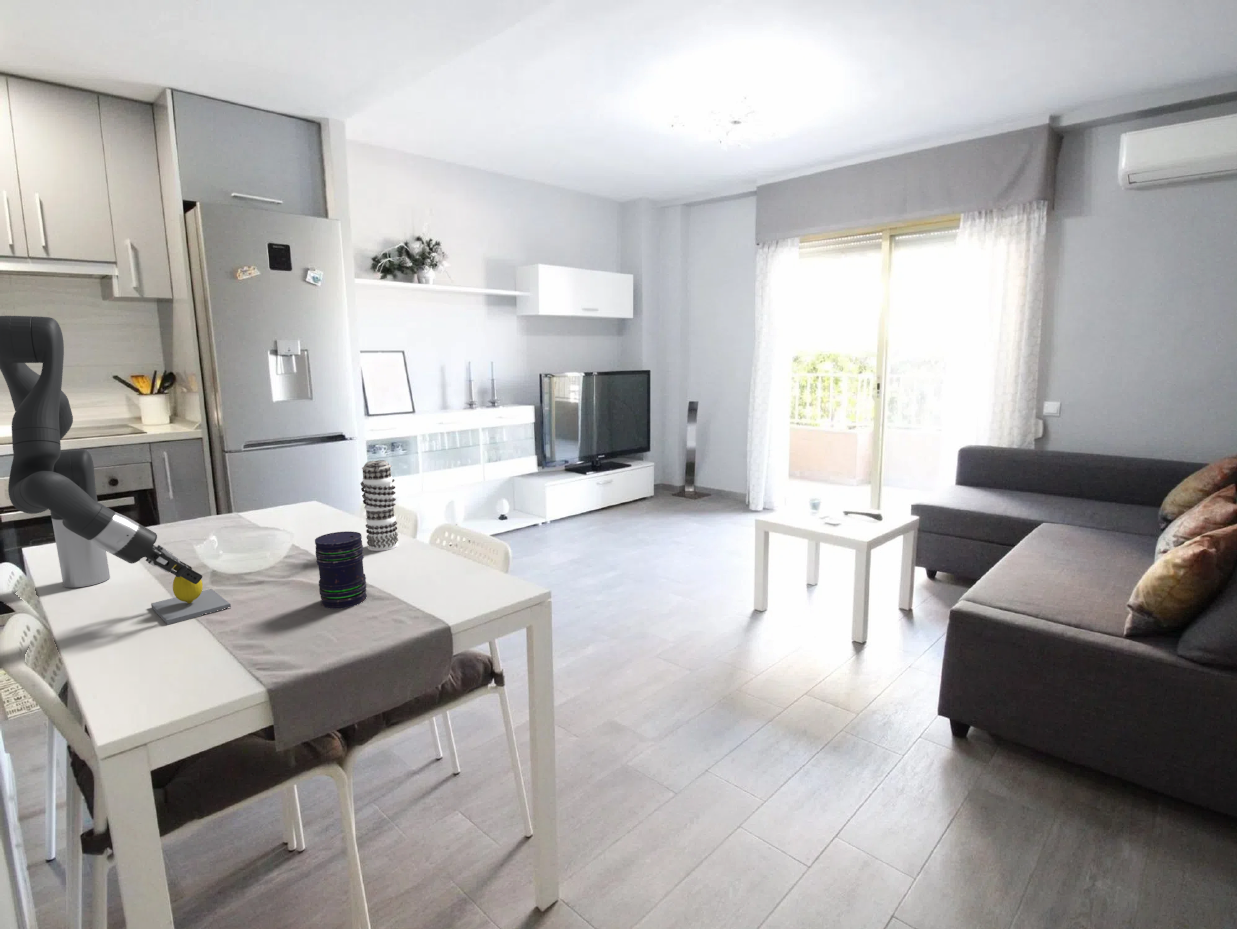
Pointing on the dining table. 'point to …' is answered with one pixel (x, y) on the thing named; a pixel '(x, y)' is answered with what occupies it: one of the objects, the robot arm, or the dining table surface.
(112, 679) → the dining table surface
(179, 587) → the lemon
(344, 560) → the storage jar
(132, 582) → the dining table surface
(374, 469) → the decorative candle
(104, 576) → the robot arm
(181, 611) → the mat
